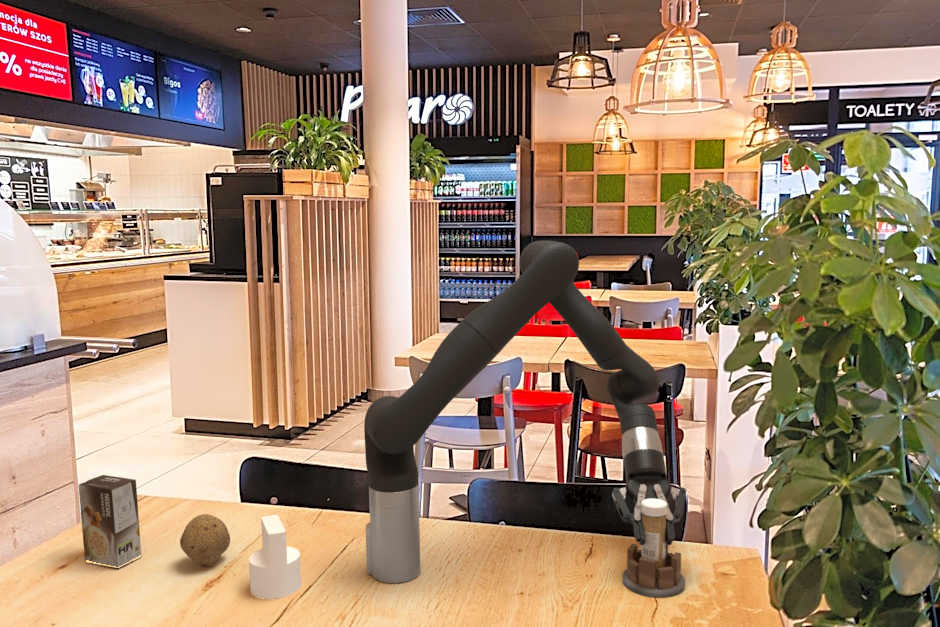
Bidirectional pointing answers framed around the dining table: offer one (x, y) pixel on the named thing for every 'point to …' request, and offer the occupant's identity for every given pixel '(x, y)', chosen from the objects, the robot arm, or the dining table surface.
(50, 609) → the dining table surface
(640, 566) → the castellated collar
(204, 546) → the brown potato
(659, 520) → the sprinkles bottle
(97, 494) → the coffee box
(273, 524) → the base with upright slab
